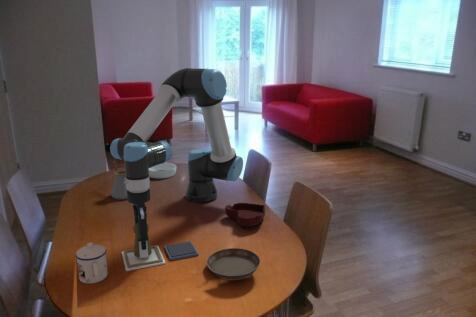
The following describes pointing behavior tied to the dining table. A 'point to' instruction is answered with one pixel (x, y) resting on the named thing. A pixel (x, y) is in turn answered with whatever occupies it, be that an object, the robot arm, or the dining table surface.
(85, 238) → the dining table surface
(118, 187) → the coffee pot
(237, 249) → the plant saucer
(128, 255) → the board
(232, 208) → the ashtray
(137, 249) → the olive knob handle
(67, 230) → the dining table surface
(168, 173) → the cereal bowl
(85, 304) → the dining table surface
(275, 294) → the dining table surface
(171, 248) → the ink pad
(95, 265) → the teacup with lid
